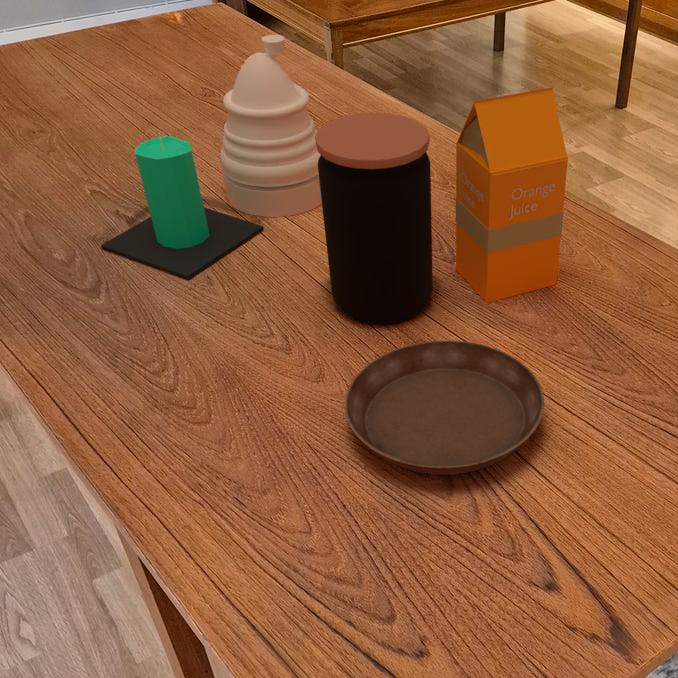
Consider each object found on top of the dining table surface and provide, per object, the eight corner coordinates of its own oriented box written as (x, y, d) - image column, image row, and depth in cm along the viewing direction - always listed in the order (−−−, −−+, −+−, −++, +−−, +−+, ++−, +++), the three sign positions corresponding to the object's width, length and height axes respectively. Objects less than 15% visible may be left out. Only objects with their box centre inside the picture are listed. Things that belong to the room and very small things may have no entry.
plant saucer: (343, 495, 74) (339, 468, 72) (350, 367, 87) (347, 341, 84) (553, 488, 75) (556, 461, 73) (530, 362, 88) (532, 337, 86)
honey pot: (304, 161, 119) (286, 16, 106) (347, 201, 111) (333, 49, 99) (212, 183, 114) (181, 33, 101) (250, 226, 106) (222, 69, 93)
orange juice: (557, 285, 98) (574, 101, 84) (486, 303, 95) (492, 116, 81) (522, 252, 103) (533, 73, 89) (454, 269, 100) (454, 86, 86)
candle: (184, 253, 100) (160, 149, 92) (145, 239, 102) (117, 137, 94) (220, 231, 104) (200, 129, 96) (181, 218, 106) (158, 117, 98)
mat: (101, 249, 102) (100, 245, 101) (181, 203, 110) (180, 199, 109) (188, 280, 97) (187, 276, 97) (264, 230, 105) (263, 226, 105)
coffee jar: (413, 266, 100) (407, 105, 88) (447, 317, 93) (446, 149, 81) (321, 285, 97) (301, 120, 84) (349, 338, 90) (332, 167, 77)
